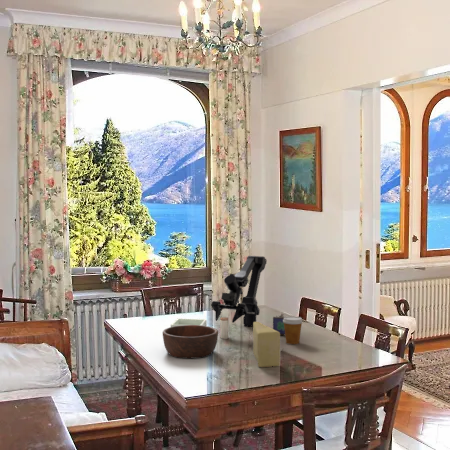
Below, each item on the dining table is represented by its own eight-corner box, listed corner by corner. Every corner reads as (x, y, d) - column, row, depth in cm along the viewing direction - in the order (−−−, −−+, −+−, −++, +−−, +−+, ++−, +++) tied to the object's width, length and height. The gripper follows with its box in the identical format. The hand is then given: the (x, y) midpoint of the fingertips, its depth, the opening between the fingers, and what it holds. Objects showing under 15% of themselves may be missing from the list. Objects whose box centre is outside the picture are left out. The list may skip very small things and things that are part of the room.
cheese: (244, 354, 282) (244, 321, 281) (265, 353, 285) (265, 320, 284) (258, 368, 261) (258, 332, 260) (280, 366, 263) (280, 331, 262)
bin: (206, 326, 338) (206, 319, 338) (201, 333, 322) (201, 325, 322) (177, 325, 340) (177, 318, 340) (170, 332, 324) (170, 324, 324)
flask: (290, 333, 322) (291, 313, 322) (291, 335, 319) (291, 314, 319) (272, 333, 323) (272, 312, 322) (273, 334, 320) (273, 314, 319)
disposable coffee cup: (305, 341, 306) (305, 317, 305) (298, 346, 297) (299, 320, 296) (286, 339, 310) (286, 315, 309) (279, 343, 301) (280, 319, 300)
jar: (228, 336, 315) (228, 317, 314) (227, 338, 311) (227, 318, 310) (220, 336, 315) (221, 316, 315) (219, 338, 311) (219, 318, 311)
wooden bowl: (175, 363, 267) (175, 339, 267) (154, 350, 289) (154, 327, 289) (227, 356, 279) (227, 333, 278) (203, 344, 301) (203, 322, 300)
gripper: (212, 285, 321) (202, 310, 311) (246, 287, 312) (236, 313, 303) (219, 298, 328) (209, 323, 319) (252, 301, 320) (243, 326, 311)
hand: (224, 321), depth 313 cm, fingers open, 9 cm apart
